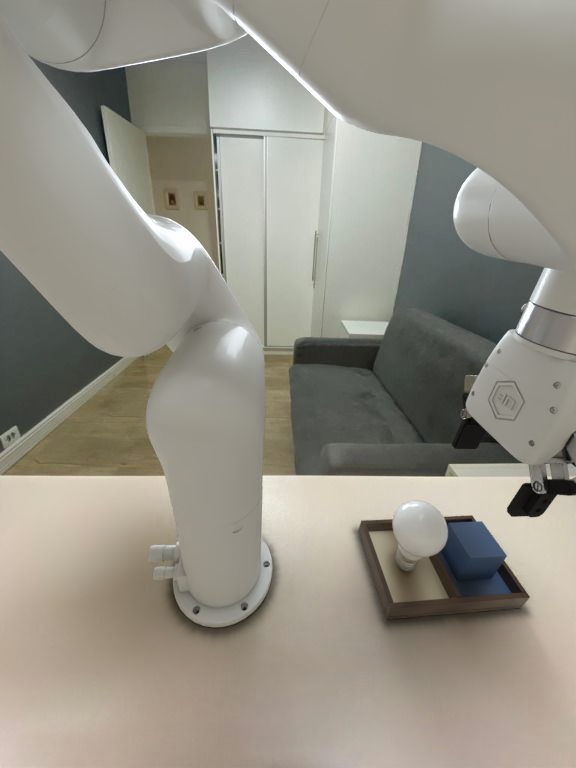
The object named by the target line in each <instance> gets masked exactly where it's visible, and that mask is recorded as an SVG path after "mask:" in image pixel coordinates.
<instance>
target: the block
mask: <svg viewBox="0 0 576 768" xmlns="http://www.w3.org/2000/svg"><path fill="white" fill-rule="evenodd" d="M484 523H485V522H483V521H482V520H481V521H477V522H458V523H449V524H448V526H447V527H448V539H447V542H446V545H445V546H444V548H443V549H442V550H441V551H442V553H443V555H444V557H445V558H446V560H447V562H448V564H449V566H450V568H451V569H452V571H453V573H454V575H455V577H456V579H457V580H471V579H485V578H492V577H493V576H494V575H495V573H496V572H497V570H498V569H499V567H500V566H501V564H502V563H503V561H505V560H506V559H507V557H508V555H507V554H506V551H504V549H503V548H502V547H501V545H500V544H499V543H498V541H497V539H496V538H495V537H494V536H493V534H492V533H491V532H490V530H489V529H488V527H487V526H486V525H485V524H484Z"/></svg>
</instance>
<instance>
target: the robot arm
mask: <svg viewBox="0 0 576 768" xmlns="http://www.w3.org/2000/svg"><path fill="white" fill-rule="evenodd" d="M247 35H249V36H250V37H252V39H253V40H254V41H256V42H257V43H258V44H259V46H261V47H262V48H263V49H264V50H266V52H267V53H268V54H269V55H271V56H272V58H274V59H275V61H277V62H278V63H279V64H280V65H281V66H282V67H284V69H285V70H286V71H288V73H290V75H292V76H293V77H294V78H295V80H297V82H298V83H300V84H301V85H302V87H304V88H305V89H306V90H307V91H308V92H309V93H310V94H311V95H312V96H313V97H315V98H316V99H317V100H318V101H319V102H320V103H321V104H322V106H324V107H325V108H326V109H327V110H328V111H329V112H330V113H332V115H333V116H334V117H335V118H337V119H338V120H340V121H342V122H344V123H347V124H348V125H351V126H354V127H355V128H358V129H361V130H363V131H366V132H370V133H374V134H378V135H383V136H392V137H398V138H404V139H409V140H413V141H417V142H421V143H425V144H428V145H431V146H433V147H436V148H439V149H441V150H443V151H446V152H447V153H450V154H452V155H454V156H456V157H458V158H460V159H462V160H464V161H465V162H467V163H469V164H471V165H472V166H474V167H476V168H475V169H474V170H473V171H472V172H471V173H470V174H469V176H468V177H467V178H466V179H465V180H464V182H463V184H462V185H461V187H460V189H459V191H458V192H457V195H456V199H455V200H454V204H453V210H452V211H453V213H452V216H453V226H454V228H455V229H454V230H455V232H456V234H457V235H458V237H459V239H460V240H461V241H462V242H463V244H465V246H466V247H468V248H469V249H471V250H473V251H474V252H476V253H477V254H481V255H483V256H486V257H489V258H494V259H500V260H504V261H508V262H513V263H518V264H522V263H523V264H528V265H532V266H537V267H541V268H543V269H542V272H541V274H540V276H539V277H538V280H537V283H536V285H535V287H534V288H533V291H532V293H531V295H530V297H529V300H528V301H527V302H526V303H524V304H523V305H521V308H520V310H519V313H520V315H521V316H520V319H519V320H518V323H517V324H516V328H515V329H509V330H508V331H506V333H505V334H504V335H503V336H502V338H500V340H499V342H498V343H497V344H496V346H495V347H494V349H492V352H491V353H490V355H489V356H488V358H487V360H486V361H485V362H484V364H483V366H482V368H481V370H480V371H479V373H478V374H475V375H473V374H472V375H471V374H467V375H465V376H464V383H463V393H462V396H461V400H462V406H463V409H462V410H461V411H460V418H461V419H462V420H461V422H460V424H459V426H458V429H457V431H456V433H455V436H454V438H453V440H452V442H451V446H452V447H453V449H455V450H477V449H478V448H479V446H480V444H481V442H482V440H483V438H484V437H485V434H486V432H487V433H488V435H490V436H491V437H492V438H493V439H494V440H495V441H496V442H498V444H500V446H501V447H503V449H505V450H506V452H508V453H509V454H510V455H511V456H512V457H514V458H515V459H516V460H517V461H519V462H521V463H523V464H525V465H528V471H529V478H530V482H524V483H522V484H521V485H520V487H519V489H518V490H517V492H516V493H515V494H514V496H513V497H512V500H511V501H510V503H509V504H508V506H507V507H506V513H508V515H509V516H510V517H512V518H515V517H517V518H518V517H519V518H521V517H528V518H539V517H541V516H542V515H544V513H545V512H546V511H547V510H548V508H549V507H550V506H551V504H552V503H553V501H554V500H555V499H556V497H558V496H569V497H571V496H572V497H573V496H576V476H575V477H573V478H570V473H569V465H571V464H574V465H575V466H576V0H0V252H1V253H2V255H4V256H5V257H6V258H7V259H8V260H9V261H10V262H11V264H12V265H13V266H14V267H15V268H16V269H17V270H18V271H19V272H20V273H21V274H22V276H24V277H25V279H26V280H27V281H29V283H30V284H31V285H32V286H33V287H34V288H35V289H36V290H37V291H38V292H39V294H41V296H43V298H44V299H45V300H46V301H47V302H48V303H49V304H50V306H52V307H53V309H55V311H56V312H57V313H58V314H59V315H60V316H61V317H62V318H63V319H64V320H65V322H67V323H68V324H69V325H70V326H71V328H72V329H74V331H76V332H77V333H78V334H80V336H81V337H82V338H84V340H86V341H87V342H88V343H90V345H92V346H93V347H95V348H97V349H98V350H100V351H101V352H104V353H107V354H109V355H111V356H116V357H121V358H128V359H129V358H140V357H144V356H146V355H149V354H152V353H155V352H157V351H158V350H160V349H162V348H163V347H165V345H166V346H167V347H168V349H169V350H170V351H171V352H172V353H171V354H170V356H169V358H168V359H167V361H166V363H165V364H164V366H163V367H162V369H161V370H160V372H159V373H158V375H157V377H156V379H155V381H154V383H153V385H152V387H151V390H150V393H149V396H148V398H147V399H148V400H147V403H146V409H145V428H146V433H147V436H148V439H149V441H150V444H151V446H152V449H153V450H154V452H155V455H156V456H157V459H158V461H159V463H160V466H161V468H162V471H163V474H164V477H165V482H166V486H167V490H168V491H167V492H168V495H169V496H168V497H169V501H170V506H171V509H172V513H173V519H174V524H175V529H176V534H177V539H178V541H176V542H175V544H152V545H150V547H149V549H148V553H147V561H148V563H164V562H165V561H173V563H174V565H171V566H166V565H162V566H155V567H154V568H153V572H152V579H153V581H159V580H161V581H162V580H168V579H172V587H173V588H172V589H173V595H174V598H175V600H176V603H177V606H178V607H179V609H180V610H181V612H182V613H183V614H184V615H185V617H186V618H188V619H189V620H191V621H192V622H194V623H195V624H198V625H200V626H203V627H209V628H226V627H229V626H232V625H235V624H237V623H239V622H241V621H243V620H245V619H247V617H249V616H250V615H252V614H253V613H254V612H255V611H256V610H257V609H258V608H259V606H261V604H262V603H263V601H264V599H265V598H266V596H267V594H268V592H269V590H270V587H271V584H272V578H273V558H272V554H271V551H270V548H269V546H268V544H267V543H266V541H265V540H264V538H263V537H262V533H263V532H262V529H263V525H262V524H263V492H264V491H263V490H264V489H263V488H264V487H263V477H264V476H263V475H264V473H263V472H264V449H265V447H264V445H265V436H266V359H265V351H264V347H263V343H262V341H261V338H260V337H259V334H258V332H257V331H256V329H255V327H254V325H253V323H252V322H251V321H250V319H249V317H248V316H247V314H246V313H245V310H244V309H243V307H242V306H241V304H240V303H239V301H238V299H237V298H236V296H235V294H234V293H233V291H232V290H231V288H230V286H229V285H228V283H227V281H226V280H225V278H224V277H223V275H222V273H221V272H220V270H219V268H218V267H217V265H216V264H215V262H214V261H213V259H212V257H211V256H210V254H209V253H208V251H207V250H206V249H205V247H204V246H203V245H202V243H200V241H199V240H198V238H196V237H195V235H194V234H192V232H190V231H189V230H188V229H187V228H185V227H184V226H183V225H181V224H179V223H178V222H176V221H174V220H173V219H170V218H168V217H164V216H161V215H158V214H152V213H146V212H145V211H144V210H143V208H142V207H141V206H140V205H139V204H138V203H137V201H136V199H134V197H133V196H132V194H131V192H129V190H128V189H127V188H126V186H125V185H124V183H123V181H122V180H121V179H120V178H119V176H118V175H117V173H116V172H115V171H114V170H113V168H112V166H111V165H110V163H108V161H107V159H106V158H105V156H104V155H103V153H102V151H101V150H100V148H99V146H98V144H97V143H96V140H95V139H94V138H93V136H92V135H91V133H90V132H89V130H88V129H87V127H86V126H85V125H84V124H83V122H82V121H81V119H80V118H79V117H78V115H77V114H76V112H75V111H74V110H73V109H72V108H71V106H70V105H69V104H68V102H67V101H66V99H64V98H63V96H62V95H61V93H60V92H59V91H58V90H57V89H56V87H54V85H53V84H52V83H51V82H50V81H49V79H48V78H47V76H46V75H45V74H44V73H43V72H42V71H41V68H39V66H37V64H36V63H35V61H34V60H36V61H38V62H40V63H42V64H45V65H48V66H50V67H53V68H55V69H58V70H63V71H68V72H72V73H73V72H74V73H94V72H101V71H106V70H113V69H119V68H124V67H129V66H135V65H139V64H145V63H151V62H156V61H162V60H166V59H170V58H171V59H172V58H176V57H177V58H178V57H181V56H182V57H183V56H187V55H191V54H196V53H197V54H198V53H200V52H205V51H209V50H213V49H216V48H218V47H223V46H225V45H229V44H231V43H233V42H235V41H238V40H240V39H242V38H243V37H245V36H247ZM32 58H33V59H34V60H33V59H32ZM547 465H549V471H550V476H551V478H548V473H547V472H548V471H547ZM243 609H245V610H243ZM197 612H198V613H197Z"/></svg>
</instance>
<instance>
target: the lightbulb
mask: <svg viewBox="0 0 576 768" xmlns="http://www.w3.org/2000/svg"><path fill="white" fill-rule="evenodd" d="M444 517H445V516H444V515H443V513H441V511H439V509H438V508H437V507H435V506H434V505H432V504H431V503H429V502H427V501H424V500H420V499H411V500H407V501H405V502H403V503H402V504H400V505H399V506H398V507H397V508H396V509H395V511H394V514H393V515H392V519H393V520H392V527H393V532H394V535H395V537H396V539H397V541H398V550H397V553H396V556H395V561H396V563H397V565H398V566H399V567H400V568H401V569H402V570H404V571H413V570H414V569H415V567H416V565H417V562H418V560H420V559H421V558H423V557H429V556H433V555H435V554H437V553H439V552H440V551H441V550H442V549H443V548H444V546H445V545H446V542H447V539H448V527H447V523H446V521H445V519H444Z"/></svg>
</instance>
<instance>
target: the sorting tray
mask: <svg viewBox="0 0 576 768" xmlns="http://www.w3.org/2000/svg"><path fill="white" fill-rule="evenodd" d="M443 517H444V519H445V521H446V523H447V526H448V524H449V523H458V522H478V521H477V520H476V519H475V517H474V516H473V515H455V516H454V515H450V516H443ZM392 520H393V518H389V519H388V518H387V519H366V520H360V522H359V527H358V530H357V532H358V536H359V539H360V542H361V545H362V548H363V552H364V555H365V557H366V561H367V564H368V567H369V570H370V573H371V576H372V580H373V583H374V585H375V588H376V592H377V595H378V599H379V601H380V605H381V607H382V610H383V614H384V617H385V619H386V620H394V619H406V618H418V617H419V618H420V617H429V616H441V615H454V614H465V613H477V612H489V611H501V610H511V609H512V610H513V609H522V608H523V607H524V605H525V604H526V603H527V602H528V600H529V599H531V596H530V595H529V593H528V592H527V590H526V589H525V588H524V586H523V584H522V583H521V581H519V578H517V576H516V575H515V574H514V572H513V570H512V569H511V567H509V565H508V563H507V562H506V561H505V560H504V561H503V563H502V564H501V566H500V567H499V569H498V570H497V572H496V573H495V575H494V576H493V577H492V578H485V579H471V580H457V579H456V577H455V575H454V573H453V571H452V569H451V568H450V566H449V564H448V562H447V560H446V558H445V557H444V555H443V553H442V551H440V552H439V553H437V554H435V555H433V556H429V557H423V558H421V559H420V560H418V562H417V565H416V567H415V569H414V570H413V571H404V570H402V569H401V568H400V567H399V566H398V565H397V563H396V561H395V556H396V553H397V550H398V541H397V539H396V537H395V535H394V532H393V527H392Z"/></svg>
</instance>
